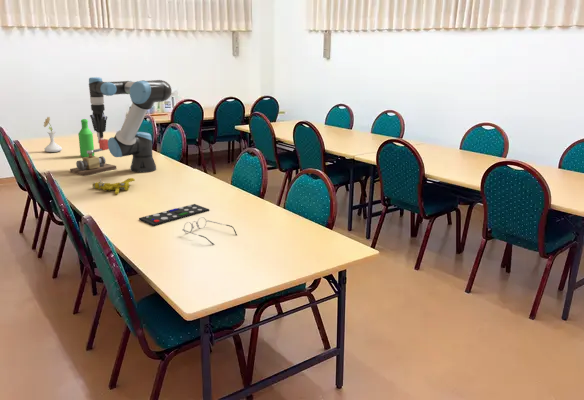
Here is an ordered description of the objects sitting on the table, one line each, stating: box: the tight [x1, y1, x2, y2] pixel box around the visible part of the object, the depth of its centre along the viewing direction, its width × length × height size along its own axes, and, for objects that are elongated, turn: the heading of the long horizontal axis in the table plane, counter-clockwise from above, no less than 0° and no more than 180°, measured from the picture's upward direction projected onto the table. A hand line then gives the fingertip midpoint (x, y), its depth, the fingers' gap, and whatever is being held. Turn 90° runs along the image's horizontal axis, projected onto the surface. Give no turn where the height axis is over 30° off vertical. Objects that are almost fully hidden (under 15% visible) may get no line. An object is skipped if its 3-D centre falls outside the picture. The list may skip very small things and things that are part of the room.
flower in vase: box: [43, 116, 63, 153], centre depth 347 cm, size 13×11×25 cm
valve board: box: [69, 154, 117, 177], centre depth 302 cm, size 14×22×11 cm, turn 147°
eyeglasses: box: [182, 216, 238, 246], centre depth 206 cm, size 16×19×5 cm
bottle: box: [78, 118, 95, 158], centre depth 336 cm, size 9×9×25 cm
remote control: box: [138, 203, 210, 227], centre depth 228 cm, size 11×30×2 cm, turn 138°
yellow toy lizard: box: [91, 177, 136, 195], centre depth 266 cm, size 22×6×20 cm
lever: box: [87, 138, 109, 154], centre depth 302 cm, size 15×4×6 cm, turn 155°
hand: (100, 142), depth 307 cm, fingers closed
